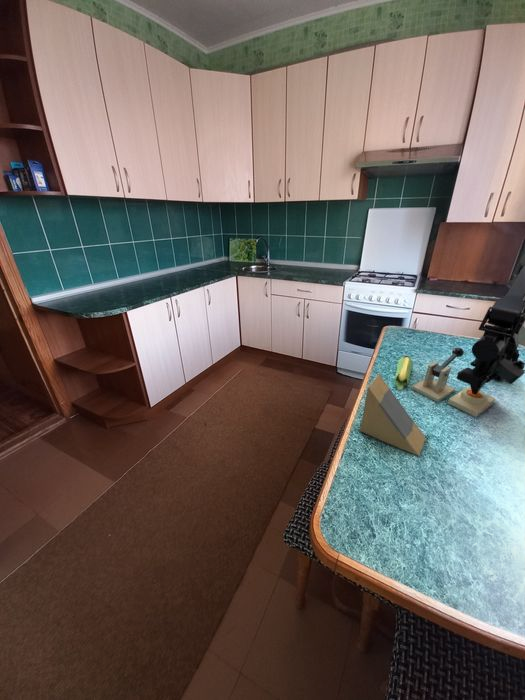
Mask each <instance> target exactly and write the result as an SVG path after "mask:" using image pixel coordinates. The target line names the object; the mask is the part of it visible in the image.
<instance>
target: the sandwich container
mask: <svg viewBox="0 0 525 700" xmlns="http://www.w3.org/2000/svg"><path fill="white" fill-rule="evenodd" d="M365 394H366V395H365V401H364V406H363V411H362V418H361V423H360V429H359V431H360V432H361V433H364V434H366V435H369V436H370V437H372V438H375V439H377V440H380V441H381V442H384V443H386V444H389V445H390V446H394V447H396V448H398V449H401V450H403V451H406V452H408V453H410V454H413V455H415V456H417V457H419V456H420V455H421V453H422V450H423V448H424V445H425V441H426V436H425V434H424V433H423V432H422V430H421V429H420V428H419V426H418V425H417V423H415V421H414V420H413V418H412V417H411V416H410V415H409V413H408V412H407V410H406V409H405V408H404V406H403V405H402V403H401V402H400V401H399V399H398V398H397V397H396V396H395V394H394V393H393V391H392V390H391V388H390V387H389V385H388V384H387V383H386V381H385V380H384V379H383V377H382V375H381V374H380V373H377V374H376V376H375V377H374V379H373V380H372V381H371V382H370V383H369V385H368V386H367V389H366V393H365Z"/></svg>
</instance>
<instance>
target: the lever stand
mask: <svg viewBox="0 0 525 700" xmlns="http://www.w3.org/2000/svg"><path fill="white" fill-rule="evenodd" d="M437 365H439V361H434V362H432V363H430V364H428V365H427V369H426V372H425V376H424V379H422V380H420V381H418V382H417V383H414V384H413V385H412V386H411V390H413V391H415V392H417V393H419V394H420V395H423V396H425V397H426V398H428V399H431V400H432V401H435V402H437V403H439V402H441V401H442V400H444V399H445V398H447V397H448V396H450V395H451V394H452V393H454V392H455V390H456V388H455V387H453V386H450V385H448V384H447V382H448V379H449V376H450V373H451V369H452V367H450V366H447V367H445V368H444V369H443V370H441V372H440V375H439V377H437V378H438V379H435V376H434V375H432V372H433V369H434V368H435V367H436V366H437Z"/></svg>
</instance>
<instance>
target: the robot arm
mask: <svg viewBox="0 0 525 700" xmlns="http://www.w3.org/2000/svg"><path fill="white" fill-rule="evenodd" d="M512 276H514V277H515V279H514V280H513V283H512V284H511V286H510V287H509V289H508V291H507V292H506V294H504V295H505V296H502V297H500V298H498V299H496V300H495V302H494V304H493V305H492V306H489V307H488V308H487V311H486V312H485V315H484V317H483V319H482V321H481V323H480V325H479V327H478V331H483V335H481V336H480V338H479V339H477V340H476V342H474V343H473V345H472V346H471V353H472V355H473V356H474V357H475V358H474V360H473V361H471V362H470V366H471V367H474V368H471V367H465V368H463V369H461V370H459V371H458V372H457V375H456V380H458V381H460V382H462V383H465V384H468V385H469V387H471V390H472V393H474V394H477V393H478V392H479V391H481V390H482V389H483V387H484V386H485V385H486V384H488V383H490V382H491V381H492V380H495V381H498V382H499V381H502V379H503V380H504V381H505V382H506V384H508V385H509V384H510V385H511V384H513V383H514V382H516V381H517V380H518V379H519V378H521V377H522V376H523V375H525V362H524V361H522V360H519V358H520V352H519V351H520V349H518V348H519V345H520V341H519V338H518V336H517V335H519V334H520V332H521V330H522V328H523V326H524V325H525V262H518V263H517V264H516V267H515V269H514V272H513V274H512Z"/></svg>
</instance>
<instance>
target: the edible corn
mask: <svg viewBox="0 0 525 700" xmlns="http://www.w3.org/2000/svg"><path fill="white" fill-rule="evenodd" d="M413 368H414V363H413V360H412V358H411V357H410V356H408V355H404V356H402V357H400V359H399V360H397V367H396V373H395V375H394V376H395V377H394V380H395V386H397V389H398V391H400V390H403V388H405V386H408V385H409V384H410V378H411V375H412V372H413V371H412V370H413Z"/></svg>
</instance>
